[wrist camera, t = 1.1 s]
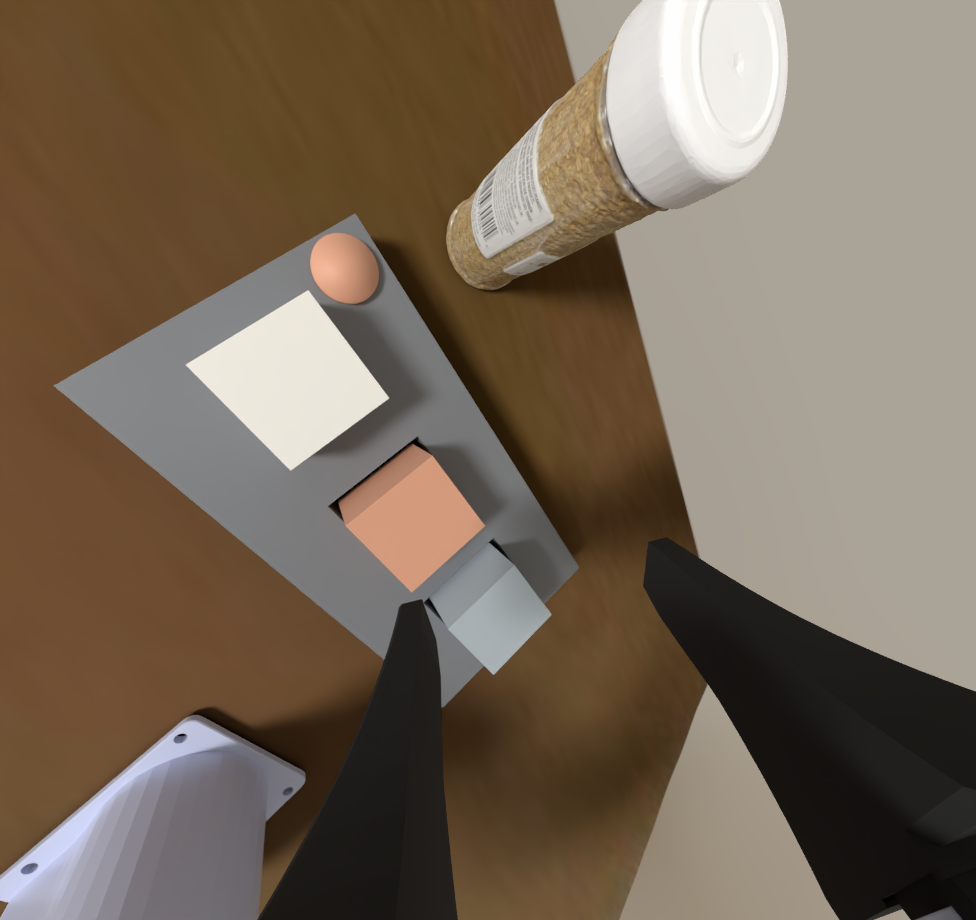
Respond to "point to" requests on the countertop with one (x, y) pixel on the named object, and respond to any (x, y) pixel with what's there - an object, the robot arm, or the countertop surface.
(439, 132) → the countertop surface
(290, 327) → the off-white button
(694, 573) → the robot arm
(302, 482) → the console
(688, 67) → the spice jar
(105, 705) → the countertop surface
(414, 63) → the countertop surface
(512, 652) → the grey button
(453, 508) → the terracotta button
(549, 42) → the countertop surface
